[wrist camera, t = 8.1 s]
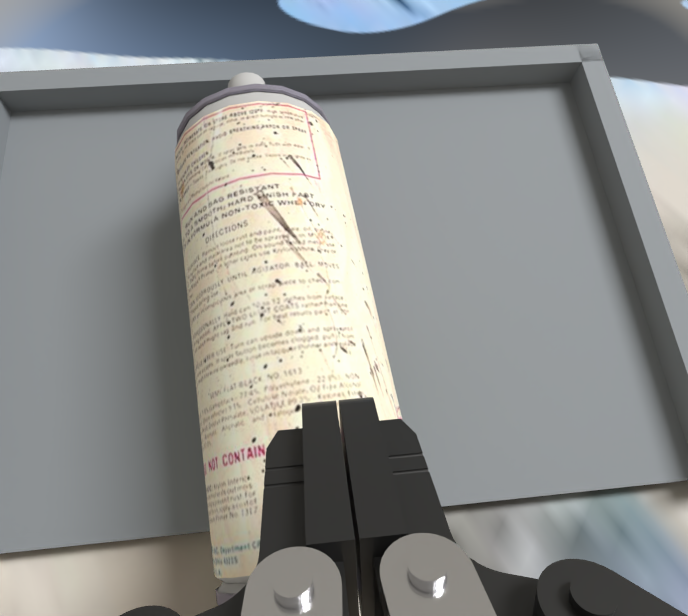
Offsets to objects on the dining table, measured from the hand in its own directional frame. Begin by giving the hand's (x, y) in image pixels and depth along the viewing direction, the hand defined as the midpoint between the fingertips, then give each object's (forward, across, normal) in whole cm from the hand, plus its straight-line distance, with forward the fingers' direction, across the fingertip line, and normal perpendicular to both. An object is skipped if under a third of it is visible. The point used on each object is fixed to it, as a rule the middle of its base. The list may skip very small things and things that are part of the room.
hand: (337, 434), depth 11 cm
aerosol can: (+2, 0, +8) cm, 8 cm away
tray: (+14, 0, +1) cm, 14 cm away
